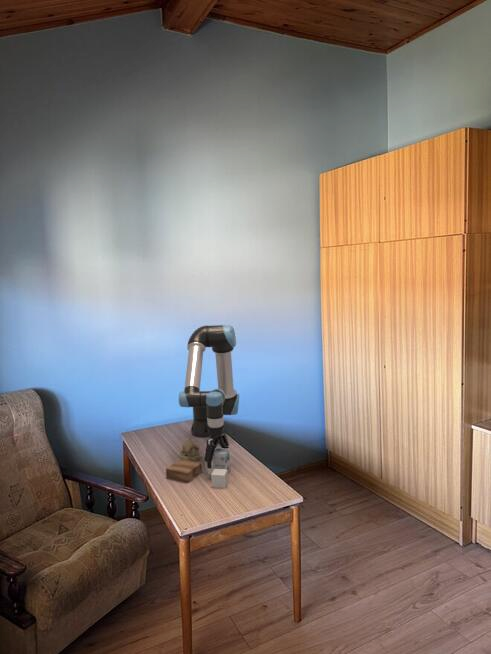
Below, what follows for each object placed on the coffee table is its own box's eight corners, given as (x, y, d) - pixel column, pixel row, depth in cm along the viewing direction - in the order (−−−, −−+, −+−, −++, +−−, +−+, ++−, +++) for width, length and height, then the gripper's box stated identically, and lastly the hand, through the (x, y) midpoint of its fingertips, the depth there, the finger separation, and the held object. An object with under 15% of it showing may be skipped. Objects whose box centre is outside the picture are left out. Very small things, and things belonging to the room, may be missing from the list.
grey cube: (215, 481, 229) (214, 468, 228) (227, 481, 227) (227, 469, 226) (211, 487, 223) (211, 474, 222) (225, 488, 222) (224, 475, 221)
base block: (181, 468, 244) (180, 458, 243) (202, 472, 238) (201, 462, 237) (166, 478, 233) (165, 468, 232) (187, 483, 227) (187, 473, 227)
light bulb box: (230, 469, 240) (229, 448, 238) (226, 475, 233) (225, 453, 231) (209, 467, 243) (208, 446, 241) (204, 473, 236) (203, 452, 234)
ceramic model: (177, 453, 261) (176, 435, 259) (197, 449, 265) (196, 431, 263) (185, 463, 248) (183, 444, 246) (206, 459, 252) (205, 440, 251)
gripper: (221, 415, 247) (223, 456, 250) (194, 433, 225) (197, 478, 228) (234, 417, 244) (236, 458, 247) (209, 435, 221) (211, 480, 225)
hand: (217, 468), depth 238 cm, fingers open, 13 cm apart
